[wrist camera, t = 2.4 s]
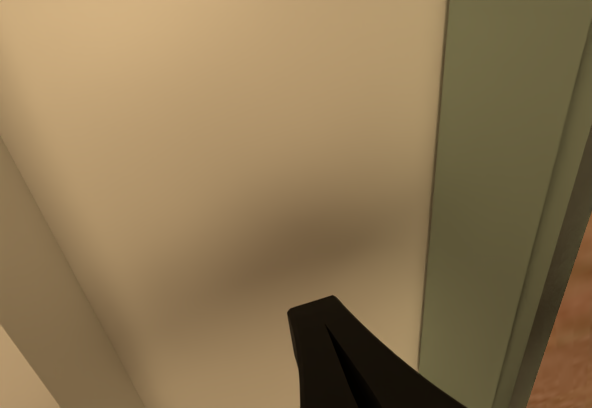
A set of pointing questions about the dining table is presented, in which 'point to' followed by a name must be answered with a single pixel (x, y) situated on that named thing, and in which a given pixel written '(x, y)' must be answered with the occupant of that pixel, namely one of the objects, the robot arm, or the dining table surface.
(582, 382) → the dining table surface
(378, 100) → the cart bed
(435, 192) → the panel
